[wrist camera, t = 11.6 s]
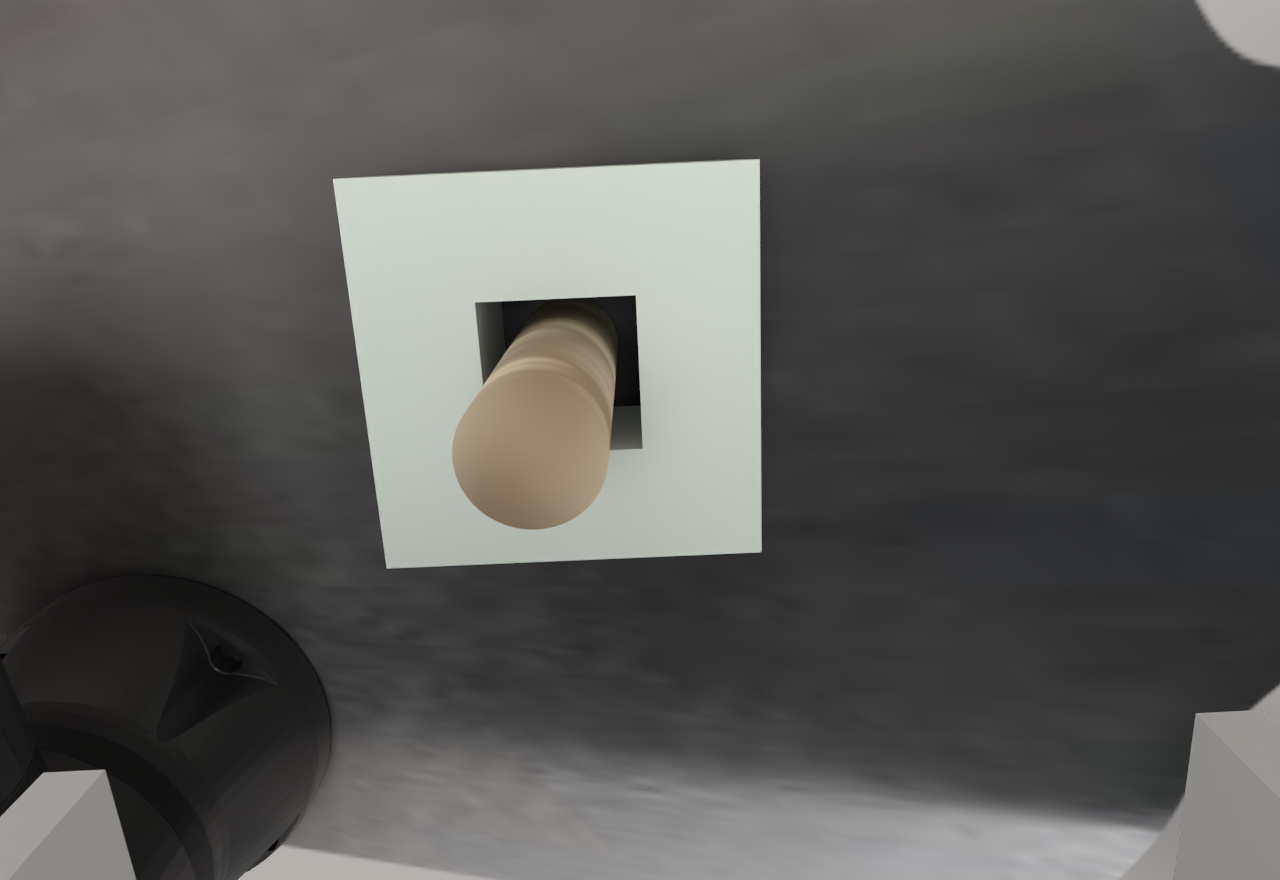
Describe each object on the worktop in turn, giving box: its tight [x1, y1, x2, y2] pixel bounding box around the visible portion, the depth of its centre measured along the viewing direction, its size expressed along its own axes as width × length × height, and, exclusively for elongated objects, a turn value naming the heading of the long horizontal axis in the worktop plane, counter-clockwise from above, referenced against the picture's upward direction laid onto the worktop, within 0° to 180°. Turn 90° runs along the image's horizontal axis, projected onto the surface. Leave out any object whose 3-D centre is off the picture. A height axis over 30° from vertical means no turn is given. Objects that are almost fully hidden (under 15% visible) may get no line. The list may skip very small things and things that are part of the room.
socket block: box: [333, 159, 762, 569], centre depth 35 cm, size 14×14×6 cm
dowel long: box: [452, 298, 618, 530], centre depth 30 cm, size 4×4×15 cm
